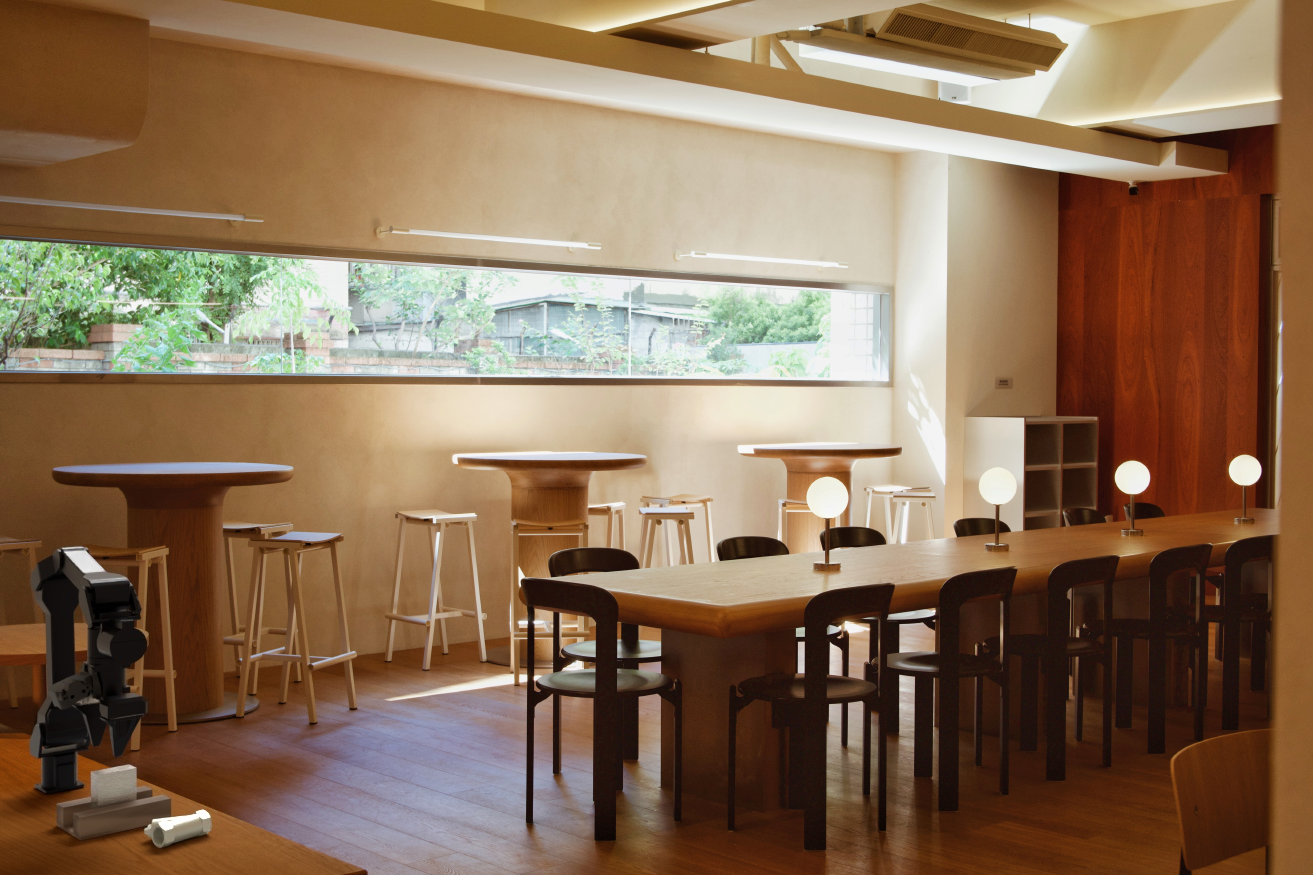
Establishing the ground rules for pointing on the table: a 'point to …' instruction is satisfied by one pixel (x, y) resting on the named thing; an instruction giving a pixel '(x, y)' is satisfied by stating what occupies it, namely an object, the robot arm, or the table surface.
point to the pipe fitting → (178, 828)
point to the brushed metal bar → (113, 786)
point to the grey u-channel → (111, 815)
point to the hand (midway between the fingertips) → (106, 751)
